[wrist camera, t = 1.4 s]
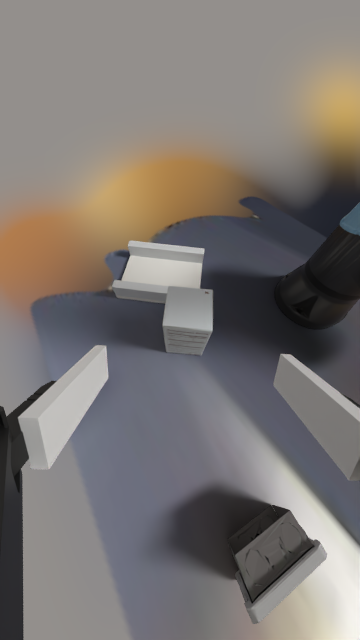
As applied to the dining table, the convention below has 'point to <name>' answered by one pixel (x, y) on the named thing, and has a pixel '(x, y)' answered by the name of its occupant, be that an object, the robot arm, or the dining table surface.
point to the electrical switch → (272, 559)
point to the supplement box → (187, 319)
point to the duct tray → (158, 271)
